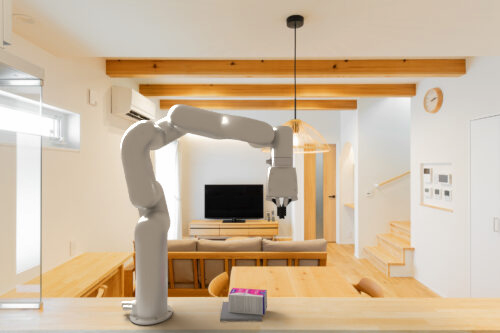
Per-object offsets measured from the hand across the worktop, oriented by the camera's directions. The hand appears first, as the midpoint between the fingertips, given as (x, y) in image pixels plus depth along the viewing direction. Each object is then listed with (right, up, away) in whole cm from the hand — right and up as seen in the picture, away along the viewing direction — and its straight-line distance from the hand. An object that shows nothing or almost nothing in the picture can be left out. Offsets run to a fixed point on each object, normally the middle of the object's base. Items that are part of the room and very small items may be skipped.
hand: (281, 218), depth 103 cm
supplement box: (-5, -25, -6) cm, 26 cm away
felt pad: (-13, -29, -5) cm, 32 cm away
